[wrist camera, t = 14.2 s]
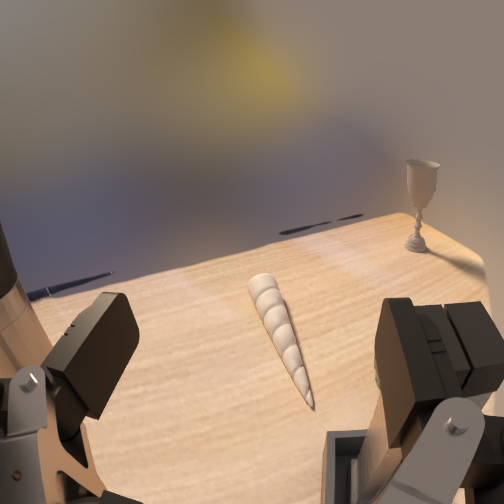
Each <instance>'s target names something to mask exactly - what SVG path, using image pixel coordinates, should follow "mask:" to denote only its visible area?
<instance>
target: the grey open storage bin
mask: <svg viewBox="0 0 504 504" xmlns="http://www.w3.org/2000/svg"><path fill="white" fill-rule="evenodd" d="M367 431H368V429H366V430H351V431H327V434H326V440H325V446H324V451H323V467H322V490H321V504H346V477H347V469H348V466H349V464H350V461H351V459H357V457H358V455H359V452H360V450H361V447H362V445H363V442H364V439H365V437H366V434H367Z"/></svg>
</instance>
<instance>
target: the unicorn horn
mask: <svg viewBox="0 0 504 504" xmlns="http://www.w3.org/2000/svg"><path fill="white" fill-rule="evenodd" d="M247 287H248V292H249V295H250V297H251V299H252V301H253V303H254V305H255V307H256V309H257V311H258V313H259V315H260V318H261V320H262V322H263V324H264V326H265V328H266V330H267V331H268V333H269V335H270V337H271V339H272V341H273V343H274V346H275V347H276V349H277V351H278V353H279V355H280V357H281V359H282V360H283V363H284V364H285V366H286V368H287V370H288V372H289V374H290V375H291V377H292V379H293V380H294V382H295V384H296V386H297V388H298V389H299V391H300V392H301V394H302V396H303V397H304V399H305V401H306V402H307V403H308V404H309V406H310V407H312V408H313V400H312V395H311V391H310V390H309V389H308V388H309V383H308V380H307V376H306V372H305V369H304V367H302V366H301V364H303V362H302V359H301V355H300V352H299V349H298V346H297V345H295V344H296V339H295V336H294V333H293V330H292V327H291V325H290V320H289V317H288V314H287V311H286V308H285V305H284V302H283V299H282V296H281V293H280V290H279V287H278V284H277V281H276V280H275V278H274V276H272V275H271V274H266V273H263V274H258V275H256V276H254V277H253V278H252V279H251V280H250V281H249V283H248V286H247Z"/></svg>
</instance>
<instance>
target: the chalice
mask: <svg viewBox="0 0 504 504" xmlns="http://www.w3.org/2000/svg"><path fill="white" fill-rule="evenodd" d="M406 163H407V166H408V179H407V186H408V190H409V194H410V196H411V200H412V202H413V205H414V206H415V207H416V208H417V215H416V216H415V217H416V224H414V226H415V230H416V231H415V233H414V234H413V235H411V236H409V237H408V240H407V242H406V243H405V245H404V246H405V248H406V249H407V250H409V251H412V252H424V251H426V246H425V240H424V238H423V237H422V236H421V235H420V232H419V231H420V228H421V227H422V225H421V219H422V213H421V212H422V209H424V208H426V207H427V206H428V204H429V202H430V201H431V199H432V197H433V195H434V192H435V190H436V179H437V170H438V168H439V164H437V163H434V162H430V161H426V160H419V159H410V160H406Z"/></svg>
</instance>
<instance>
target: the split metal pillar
mask: <svg viewBox="0 0 504 504" xmlns="http://www.w3.org/2000/svg"><path fill="white" fill-rule="evenodd" d="M414 308H415V311H416V313H417V315H419V314H426V315H427V316H428V317H429V318H430V319H431V320H432V321H433V322H434V323H435V324H436V325H437V327H438V330H439V332H440V334H441V337H442V342H444V344H445V347H446V349H447V353H448V354H449V357H450V360H451V362H452V365H453V368H454V371H455V373H456V376H457V379H458V382H459V385H460V388H461V391H462V394H463V396H464V398H465V399H468V400H470V401H472V402H473V403H475V404H476V405H477V406H478V407H479V408H480V410H482V408H483V407H484V405H485V404H486V402H487V401H488V399H489V398H490V396H491V394H492V393H493V392H494V391H497V389H498V388H499V386H500V385H501V383H502V381H503V380H504V340H503V338H502V336H501V334H500V333H499V331H498V329H497V328H496V326H495V324H494V322H493V321H492V319H491V317H490V316H489V314H488V312H487V311H486V309H485V308H484V306H483V304H482V303H481V301H478V302H466V303H454V304H444V308H443V307H442V305H441V304H440V305H425V306H414ZM401 459H402V454H401V447H400V448H392V449H389V447H388V438H387V430H386V422H385V414H384V407H383V400H382V394H381V393H380V396H379V399H378V402H377V405H376V408H375V411H374V414H373V417H372V420H371V423H370V426H369V428H368V431H367V434H366V437H365V439H364V442H363V445H362V447H361V450H360V452H359V455H358V457H357V459H351V461H350V464H349V466H348V469H347V477H346V504H369V503H370V502H371V500H372V499H373V498H374V496H375V495H376V494H377V492H378V491H379V490H380V488H381V487H382V486H383V484H384V483H385V482H386V480H387V479H388V477H389V476H390V475H391V473H392V472H393V470H394V469H395V467H396V466H397V464H398V463H399V461H400V460H401Z"/></svg>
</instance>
